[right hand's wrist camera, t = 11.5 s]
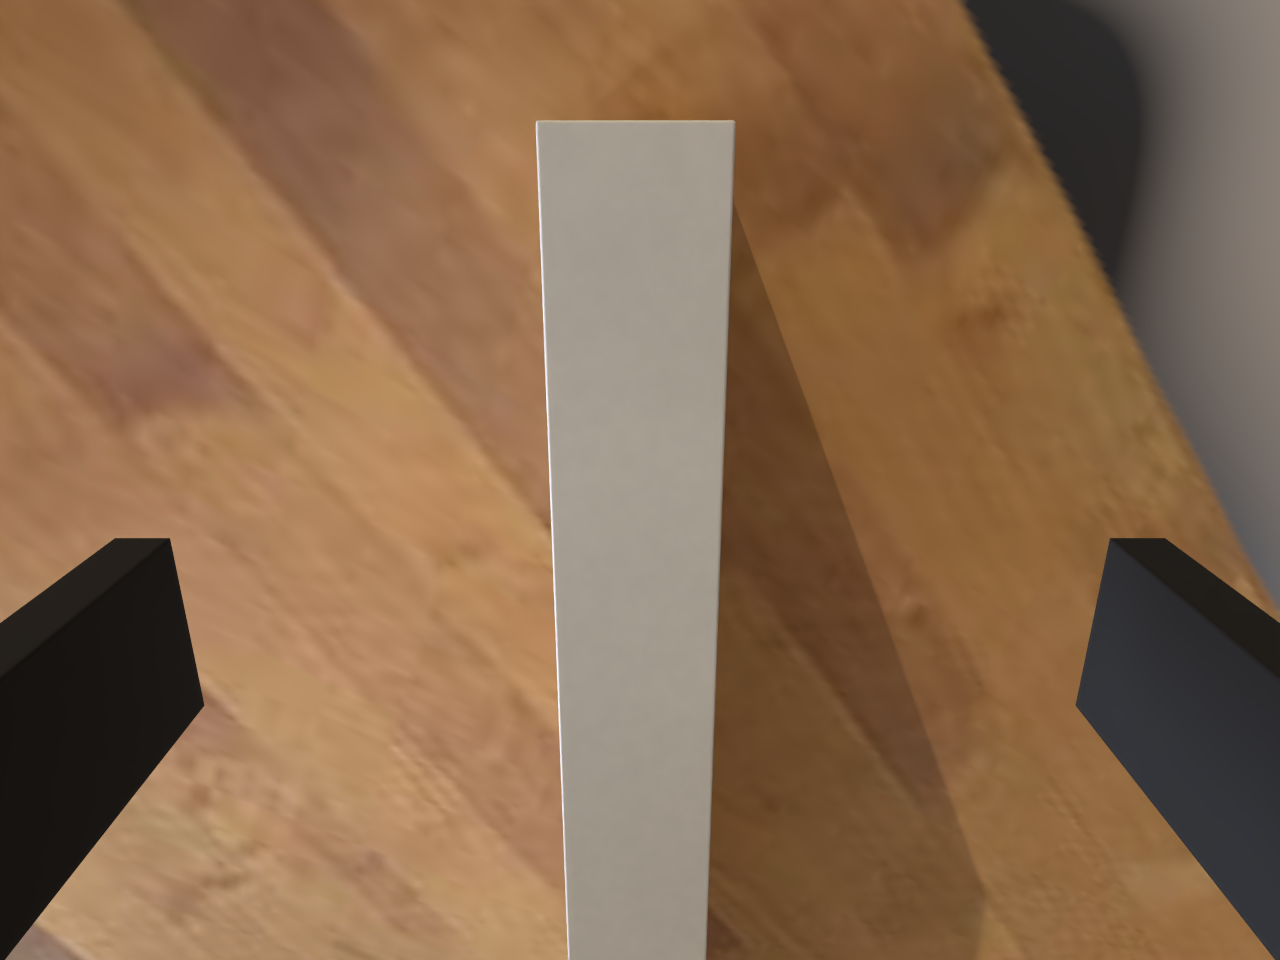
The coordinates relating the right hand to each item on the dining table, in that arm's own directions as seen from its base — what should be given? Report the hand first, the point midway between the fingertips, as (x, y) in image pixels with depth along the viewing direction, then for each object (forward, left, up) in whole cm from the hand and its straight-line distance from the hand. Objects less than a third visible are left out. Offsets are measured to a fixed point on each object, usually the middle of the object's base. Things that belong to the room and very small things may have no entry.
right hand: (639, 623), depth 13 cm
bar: (-7, -22, -18) cm, 29 cm away
